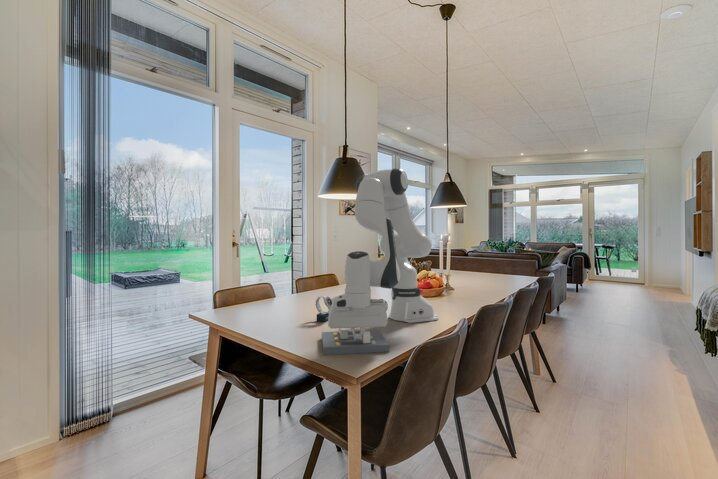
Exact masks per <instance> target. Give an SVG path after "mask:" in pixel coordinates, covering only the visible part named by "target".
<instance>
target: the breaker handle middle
mask: <svg viewBox="0 0 718 479" xmlns="http://www.w3.org/2000/svg"><path fill="white" fill-rule="evenodd" d="M348 329H349V328H340V338H341V339H348V331H349V330H348Z"/></svg>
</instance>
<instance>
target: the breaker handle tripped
mask: <svg viewBox="0 0 718 479" xmlns="http://www.w3.org/2000/svg"><path fill="white" fill-rule="evenodd" d="M362 342H363V343H370V332H364V333H363V335H362Z"/></svg>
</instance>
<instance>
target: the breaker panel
mask: <svg viewBox="0 0 718 479" xmlns="http://www.w3.org/2000/svg"><path fill="white" fill-rule="evenodd" d="M360 331H361V330H355V331H354V332H355V334H359V333H360ZM364 332H370V343H363V342H362V340H354V335H353V333H352V332H351V330H348V339H341V338H340V334H339V330H338V331H322V332H321V342H322V343H321V344H322V351H323V356H331V355H333V356H334V355H353V354H370V353H371V352H376V353H385V352H384V351H389V352H390V344H389V342H388V341H387V339H386V338H385V336H384V335H383V333H382V331H381V330H380V329H368V330H366V329H365V331H364ZM371 354H372V353H371Z"/></svg>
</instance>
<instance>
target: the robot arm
mask: <svg viewBox="0 0 718 479" xmlns="http://www.w3.org/2000/svg"><path fill="white" fill-rule="evenodd" d="M408 185H409V180H408V175H407V173H406V172H405V171H404V170H403V169H402V168H395V167H394V168H392V169H382V170H381V169H380V170H378V171H374V172H370V173H365V174H362V175H360V176H359V177H358V178H357V180H356V182H355V189H356V193H357V194H356V197H355V205H354V207H355V208H354V215H355V220H356V222H357V223H358V224H359V225H360V226H361V227H362V228H364V229H367V230H369V231H371V232H374V233H376V234H378V235H380V236H381V237H382V238H381V239H380V243H379V246H380V250H381V252H382V253H383V255H384V259H371V258H370V255H369V253H368V252H365V251H362V250H361V251H358V250H357V251H352V252H351V251H350V253H348V254H347V256H346V259H345V266H344V280H345V287H344V288H345V289H344V293H343V294H340V295H337V296H334V297H333V298H331V299H332V306H331V307H330V310H329V309H328V311H329V316H328V321H327V326H328V327H329V329H339V328H347V329H350V331H351V332H352V333H353V335H354V340H362V335H363V333H364V331H365V330H366V328H383V327H386V326H387V325H388V318H390V319H391V320H393V321H398V322H405V323H410V324H412V323H421V322H431V321H433V322H434V321H439V315H438V314H437V313H435V312H434V308H433V305H432V303H431V302H429V301H428V300H427V298H425V297H424V296H422V295H423V294H424V293H425V289H423V288H419V287H418V286H417V285H418V272H417V269H416V267H414V266H413V265H411V263H410V261H409V258H413V259H417V258H419V259H420V258H424V257H427V256H429V254H430V253H431V252H432V249H433V248H432V247H433V246H432V240H431V238H430V237H429V236H428V235H426V234H425V233H423V232H422V231H421V229H419V228H418V226H417V225H416V223H415V221H414V220H413V217H412V214H411V210H410V207H409V203H408V199H407V196H406V191H407V189H408ZM374 287H376V288H383V289H389V290H390V289H391V306H390V312H389V316H388V315H387V314H388V313H387V311H388V310H389V308H388V306H389V305H388V304H389V303H388V302H387V301H386V300H385V299H383V298H377V299H375V298H371V297H372V293H371V292H372V290H371V288H374ZM356 328H359V329H360V330H359V331H360V333H359V334H355V332H354V331H356Z"/></svg>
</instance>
